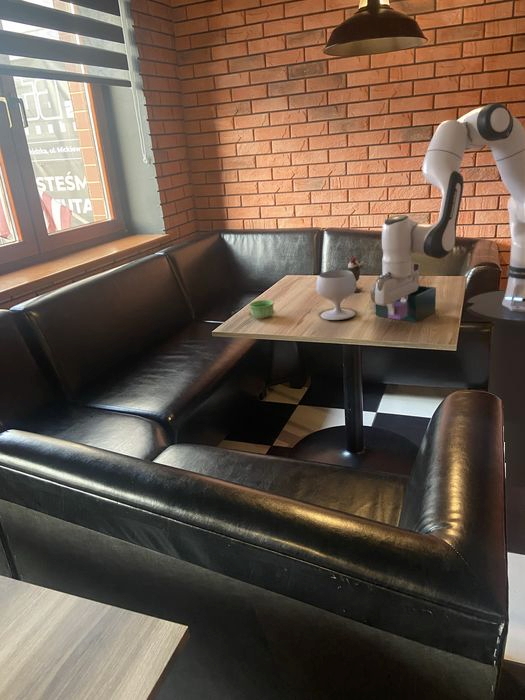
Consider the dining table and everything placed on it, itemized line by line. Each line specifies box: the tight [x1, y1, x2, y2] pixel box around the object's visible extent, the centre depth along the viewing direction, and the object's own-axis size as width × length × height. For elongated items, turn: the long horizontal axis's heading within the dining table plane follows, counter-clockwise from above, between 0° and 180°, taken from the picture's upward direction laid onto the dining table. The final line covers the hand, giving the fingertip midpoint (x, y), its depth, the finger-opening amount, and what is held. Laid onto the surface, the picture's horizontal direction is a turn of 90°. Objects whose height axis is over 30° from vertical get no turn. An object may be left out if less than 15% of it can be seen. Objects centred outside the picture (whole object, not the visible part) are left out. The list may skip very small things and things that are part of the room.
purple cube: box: [387, 301, 407, 321], centre depth 172 cm, size 4×4×4 cm
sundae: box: [345, 254, 363, 293], centre depth 216 cm, size 7×7×15 cm
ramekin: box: [248, 299, 274, 319], centre depth 197 cm, size 9×9×4 cm
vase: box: [369, 278, 378, 305], centre depth 197 cm, size 7×7×9 cm
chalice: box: [315, 269, 358, 321], centre depth 186 cm, size 14×14×15 cm
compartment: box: [375, 284, 437, 323], centre depth 183 cm, size 16×13×9 cm
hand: (397, 311), depth 172 cm, fingers closed on purple cube, 4 cm apart
